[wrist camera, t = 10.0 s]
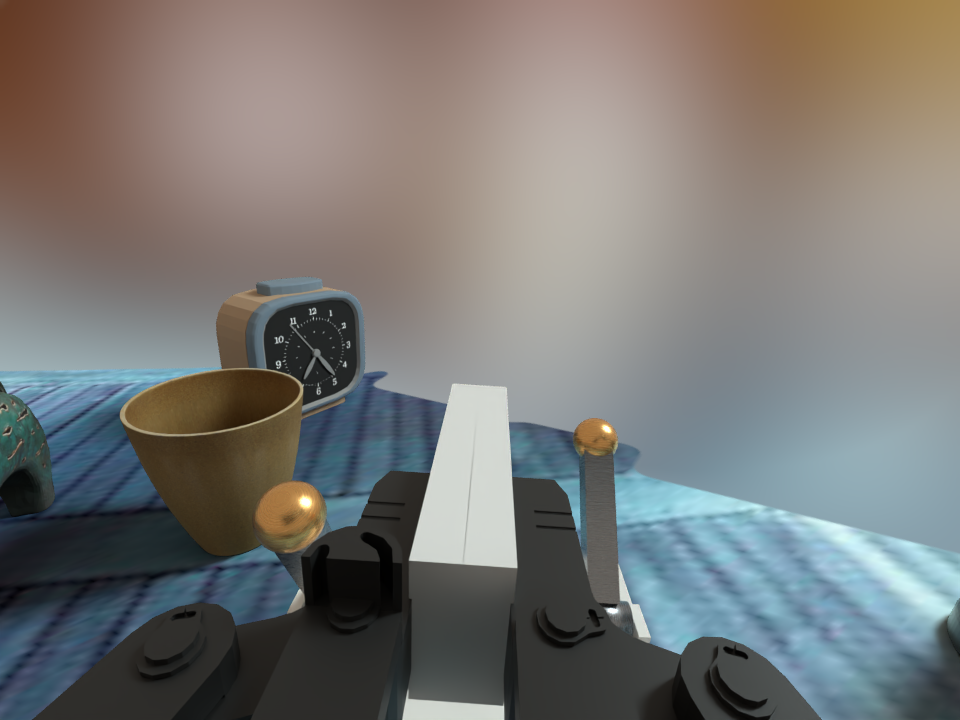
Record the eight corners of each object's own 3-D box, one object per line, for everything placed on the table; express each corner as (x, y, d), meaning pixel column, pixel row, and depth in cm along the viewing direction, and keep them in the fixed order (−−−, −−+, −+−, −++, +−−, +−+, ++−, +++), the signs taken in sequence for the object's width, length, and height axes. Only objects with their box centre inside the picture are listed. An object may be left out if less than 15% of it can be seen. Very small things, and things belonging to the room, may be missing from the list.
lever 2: (621, 635, 29) (611, 425, 35) (637, 646, 26) (623, 414, 32) (569, 631, 29) (567, 422, 35) (580, 642, 26) (576, 411, 32)
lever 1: (371, 582, 31) (329, 469, 21) (360, 635, 28) (307, 536, 18) (323, 579, 31) (257, 465, 21) (307, 631, 28) (225, 531, 18)
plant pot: (139, 529, 47) (105, 390, 42) (280, 476, 57) (267, 359, 52) (177, 619, 37) (139, 452, 32) (339, 535, 47) (330, 399, 42)
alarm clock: (264, 437, 66) (246, 293, 59) (229, 419, 71) (209, 284, 64) (368, 395, 82) (364, 278, 75) (334, 382, 87) (327, 272, 80)
